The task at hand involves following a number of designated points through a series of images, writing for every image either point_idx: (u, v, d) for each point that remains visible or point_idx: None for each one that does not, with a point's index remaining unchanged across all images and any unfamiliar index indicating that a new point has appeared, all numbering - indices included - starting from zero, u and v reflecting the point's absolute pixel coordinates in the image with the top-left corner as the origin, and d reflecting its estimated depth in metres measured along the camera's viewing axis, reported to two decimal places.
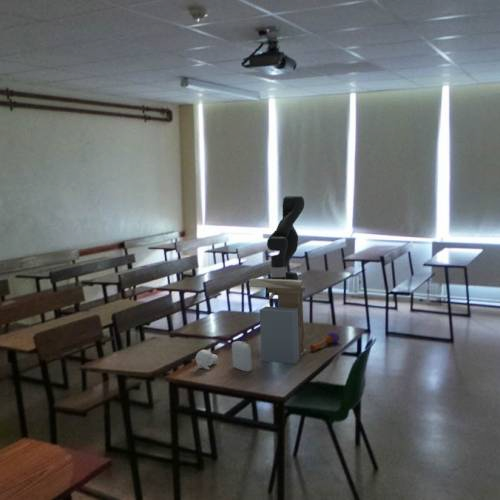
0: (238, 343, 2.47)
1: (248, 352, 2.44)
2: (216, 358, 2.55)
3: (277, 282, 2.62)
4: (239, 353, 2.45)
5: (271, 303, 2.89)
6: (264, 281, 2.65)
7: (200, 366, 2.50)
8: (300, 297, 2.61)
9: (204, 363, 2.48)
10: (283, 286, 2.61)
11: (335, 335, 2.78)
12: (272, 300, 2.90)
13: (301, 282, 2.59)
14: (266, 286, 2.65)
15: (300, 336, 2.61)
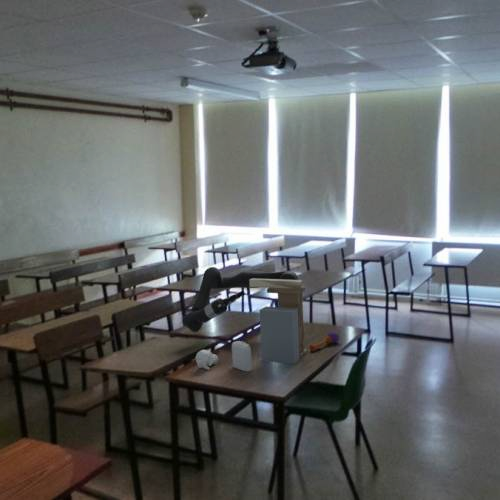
0: (238, 343, 2.47)
1: (248, 352, 2.44)
2: (216, 358, 2.55)
3: (277, 282, 2.62)
4: (239, 353, 2.45)
5: (232, 295, 2.71)
6: (264, 281, 2.65)
7: (200, 366, 2.50)
8: (300, 297, 2.61)
9: (204, 363, 2.48)
10: (283, 286, 2.61)
11: (335, 335, 2.78)
12: None
13: (301, 282, 2.59)
14: (266, 286, 2.65)
15: (300, 336, 2.61)
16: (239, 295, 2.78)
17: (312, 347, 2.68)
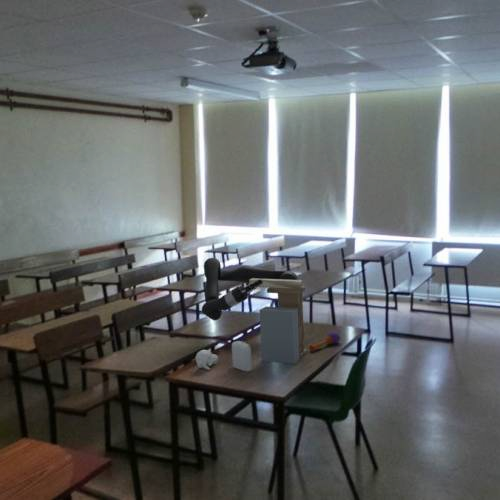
0: (238, 343, 2.47)
1: (248, 352, 2.44)
2: (216, 358, 2.55)
3: (277, 282, 2.62)
4: (239, 353, 2.45)
5: (258, 280, 2.67)
6: (264, 281, 2.65)
7: (200, 366, 2.50)
8: (300, 297, 2.61)
9: (204, 363, 2.48)
10: (283, 286, 2.61)
11: (335, 336, 2.77)
12: None
13: (301, 282, 2.59)
14: (266, 286, 2.65)
15: (300, 336, 2.61)
16: None
17: (312, 347, 2.68)
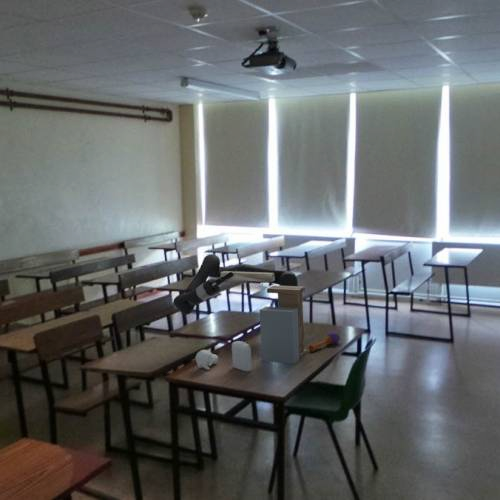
0: (238, 343, 2.47)
1: (248, 352, 2.44)
2: (216, 358, 2.55)
3: (248, 275, 2.57)
4: (239, 353, 2.45)
5: (229, 273, 2.62)
6: (235, 274, 2.60)
7: (200, 366, 2.50)
8: (300, 297, 2.61)
9: (204, 363, 2.48)
10: (254, 279, 2.56)
11: (335, 336, 2.77)
12: None
13: (272, 275, 2.54)
14: (237, 279, 2.60)
15: (300, 336, 2.61)
16: None
17: (311, 347, 2.68)
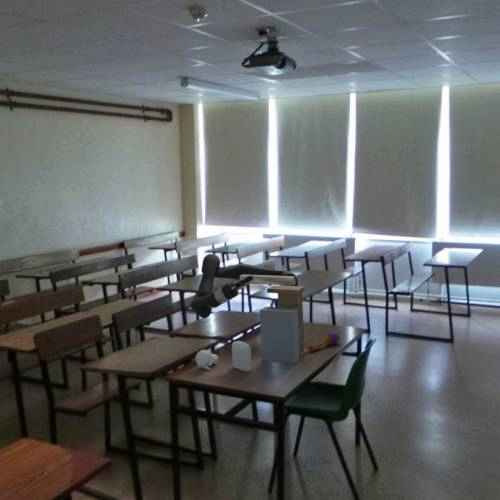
0: (238, 343, 2.47)
1: (248, 352, 2.44)
2: (216, 358, 2.55)
3: (268, 278, 2.53)
4: (239, 353, 2.45)
5: None
6: (255, 277, 2.56)
7: (200, 366, 2.50)
8: (300, 297, 2.61)
9: (204, 363, 2.48)
10: (274, 283, 2.52)
11: (335, 336, 2.76)
12: None
13: (293, 278, 2.49)
14: (257, 282, 2.56)
15: (300, 336, 2.61)
16: None
17: (311, 347, 2.68)
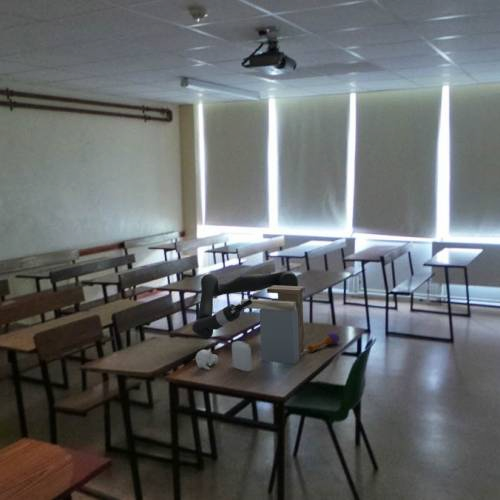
0: (238, 343, 2.47)
1: (248, 352, 2.44)
2: (216, 358, 2.55)
3: (269, 303, 2.55)
4: (239, 353, 2.45)
5: None
6: (256, 302, 2.57)
7: (200, 366, 2.50)
8: (300, 297, 2.61)
9: (204, 363, 2.48)
10: (275, 308, 2.54)
11: (335, 336, 2.76)
12: None
13: (294, 304, 2.51)
14: (258, 307, 2.57)
15: (300, 336, 2.61)
16: None
17: (310, 347, 2.68)
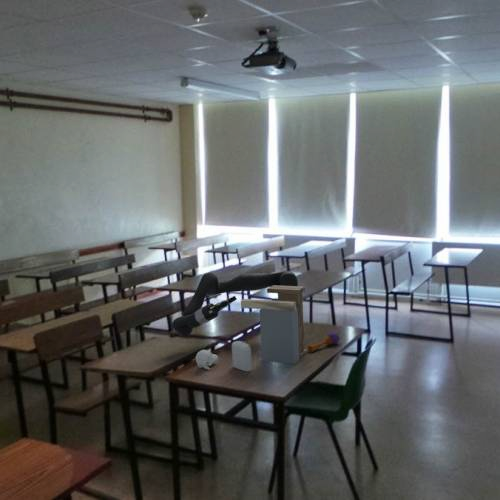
0: (238, 343, 2.47)
1: (248, 352, 2.44)
2: (216, 358, 2.55)
3: (269, 303, 2.55)
4: (239, 353, 2.45)
5: (224, 301, 2.62)
6: (256, 302, 2.57)
7: (200, 366, 2.50)
8: (300, 297, 2.61)
9: (204, 363, 2.48)
10: (275, 308, 2.54)
11: (335, 336, 2.76)
12: None
13: (294, 304, 2.51)
14: (258, 307, 2.57)
15: (300, 336, 2.61)
16: (231, 300, 2.69)
17: (310, 347, 2.67)
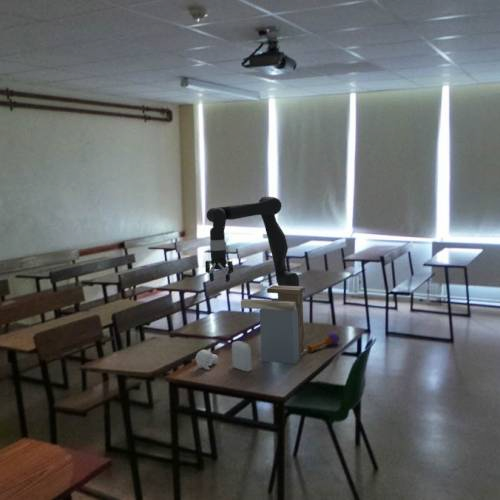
0: (238, 343, 2.47)
1: (248, 352, 2.44)
2: (216, 358, 2.55)
3: (269, 303, 2.55)
4: (239, 353, 2.45)
5: (211, 278, 2.76)
6: (256, 302, 2.57)
7: (200, 366, 2.50)
8: (300, 297, 2.61)
9: (204, 363, 2.48)
10: (275, 308, 2.54)
11: (335, 336, 2.76)
12: (212, 275, 2.77)
13: (294, 304, 2.51)
14: (258, 307, 2.57)
15: (300, 336, 2.61)
16: None
17: (310, 348, 2.67)
